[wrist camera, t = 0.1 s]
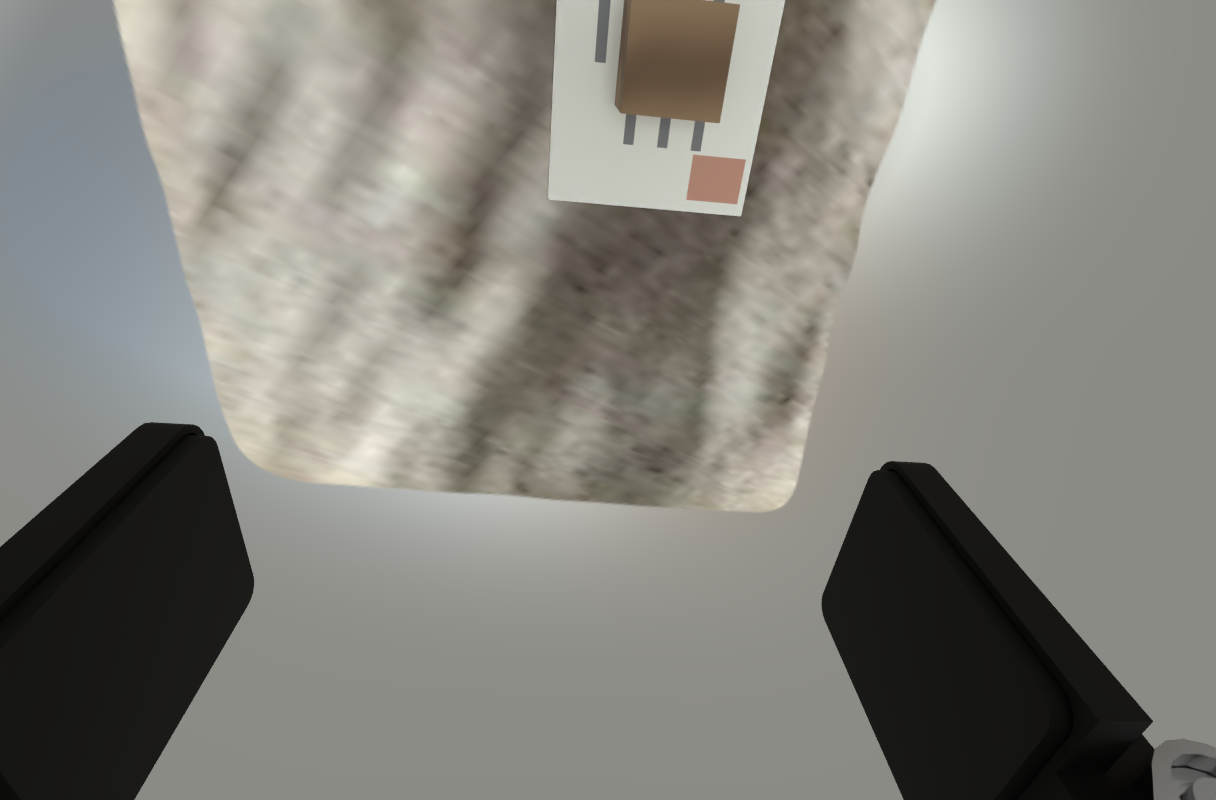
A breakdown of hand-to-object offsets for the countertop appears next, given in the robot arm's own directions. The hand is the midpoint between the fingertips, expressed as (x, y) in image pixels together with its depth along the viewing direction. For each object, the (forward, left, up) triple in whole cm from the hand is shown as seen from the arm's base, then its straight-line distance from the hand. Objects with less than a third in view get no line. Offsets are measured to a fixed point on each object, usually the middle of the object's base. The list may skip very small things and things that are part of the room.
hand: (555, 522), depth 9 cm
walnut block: (-6, +5, -31) cm, 32 cm away
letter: (-6, +5, -31) cm, 32 cm away
